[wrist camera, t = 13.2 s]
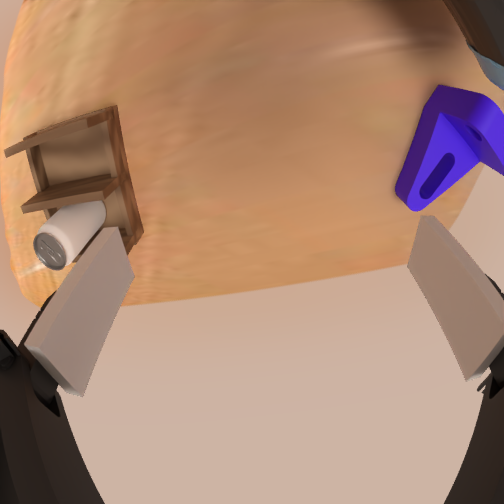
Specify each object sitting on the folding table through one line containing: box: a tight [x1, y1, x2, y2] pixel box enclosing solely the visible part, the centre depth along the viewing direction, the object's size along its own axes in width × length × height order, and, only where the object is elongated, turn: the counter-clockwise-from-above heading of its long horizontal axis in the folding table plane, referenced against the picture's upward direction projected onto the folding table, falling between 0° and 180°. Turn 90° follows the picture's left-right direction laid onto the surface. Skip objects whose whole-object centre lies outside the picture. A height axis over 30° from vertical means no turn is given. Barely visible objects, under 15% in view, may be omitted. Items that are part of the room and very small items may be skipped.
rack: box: [4, 105, 144, 262], centre depth 34 cm, size 20×16×8 cm
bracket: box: [395, 85, 504, 211], centre depth 29 cm, size 18×11×12 cm, turn 151°
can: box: [33, 200, 106, 270], centre depth 34 cm, size 6×6×12 cm
